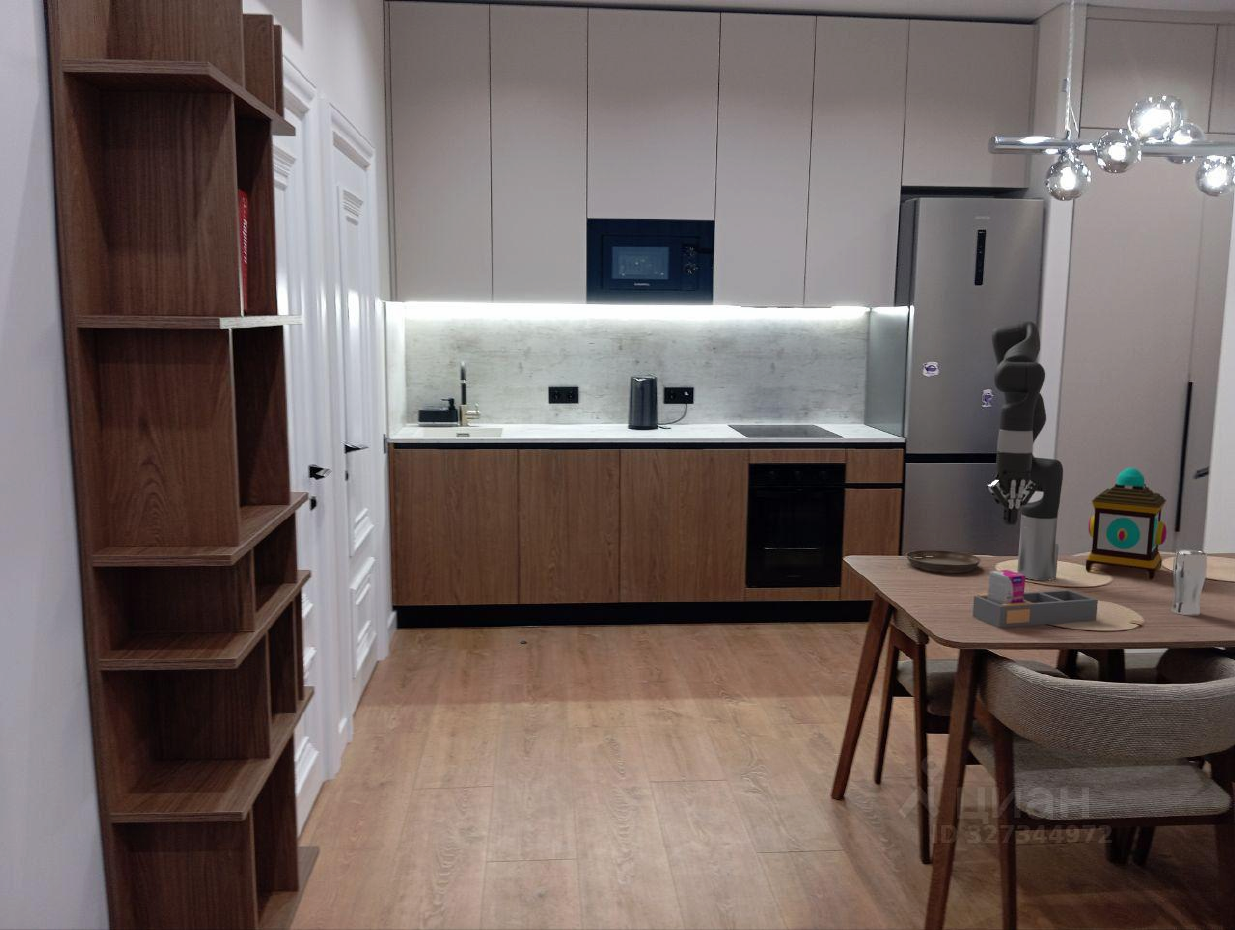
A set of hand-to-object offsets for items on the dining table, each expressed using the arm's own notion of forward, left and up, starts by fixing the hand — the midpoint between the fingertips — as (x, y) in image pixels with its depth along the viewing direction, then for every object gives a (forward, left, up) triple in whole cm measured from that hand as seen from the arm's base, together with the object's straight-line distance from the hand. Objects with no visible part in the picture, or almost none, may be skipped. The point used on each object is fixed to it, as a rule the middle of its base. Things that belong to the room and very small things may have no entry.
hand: (1009, 524), depth 226 cm
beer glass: (-49, +5, -23) cm, 54 cm away
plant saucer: (-19, -51, -23) cm, 60 cm away
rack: (-8, +1, -23) cm, 24 cm away
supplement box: (0, 0, -23) cm, 23 cm away
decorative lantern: (-68, -35, -23) cm, 80 cm away
